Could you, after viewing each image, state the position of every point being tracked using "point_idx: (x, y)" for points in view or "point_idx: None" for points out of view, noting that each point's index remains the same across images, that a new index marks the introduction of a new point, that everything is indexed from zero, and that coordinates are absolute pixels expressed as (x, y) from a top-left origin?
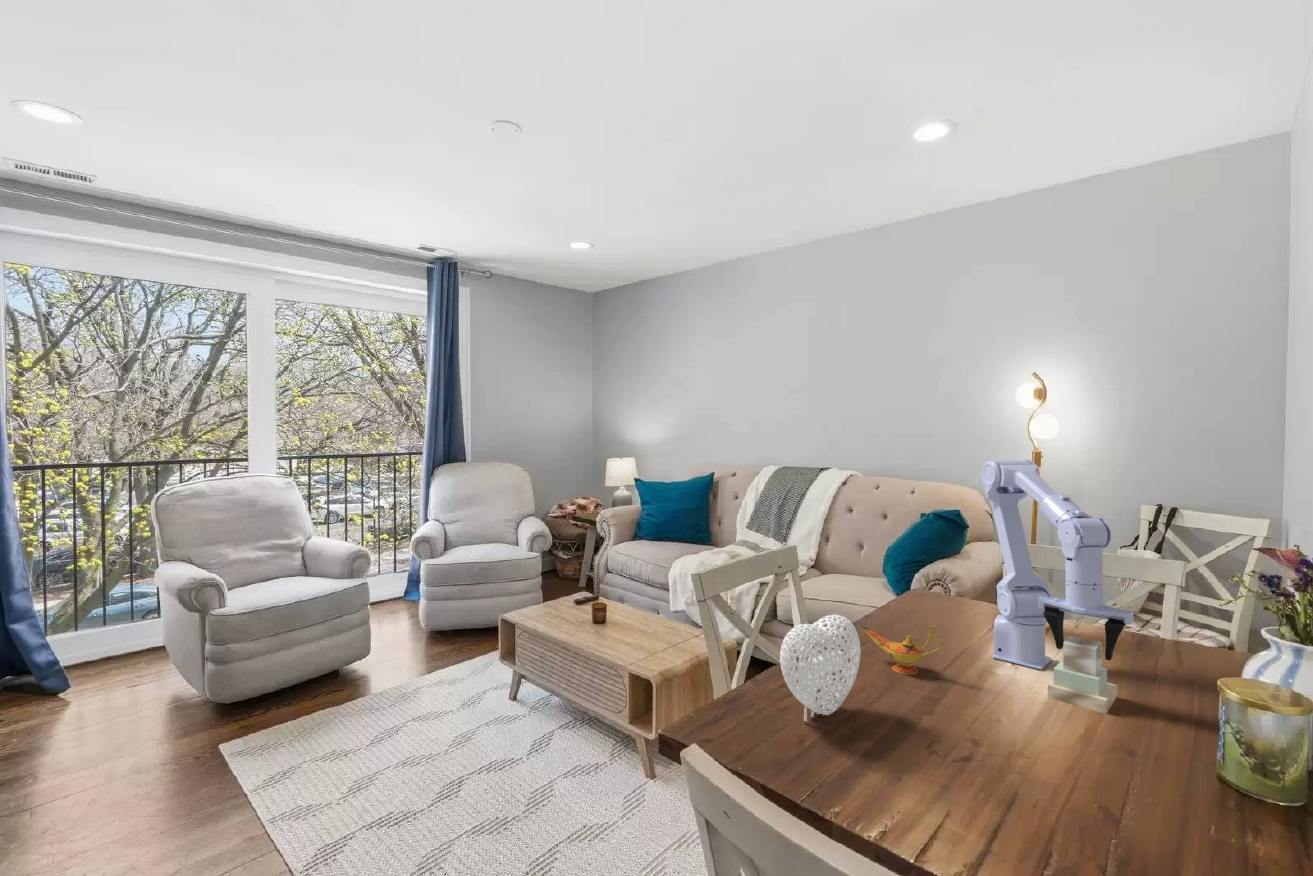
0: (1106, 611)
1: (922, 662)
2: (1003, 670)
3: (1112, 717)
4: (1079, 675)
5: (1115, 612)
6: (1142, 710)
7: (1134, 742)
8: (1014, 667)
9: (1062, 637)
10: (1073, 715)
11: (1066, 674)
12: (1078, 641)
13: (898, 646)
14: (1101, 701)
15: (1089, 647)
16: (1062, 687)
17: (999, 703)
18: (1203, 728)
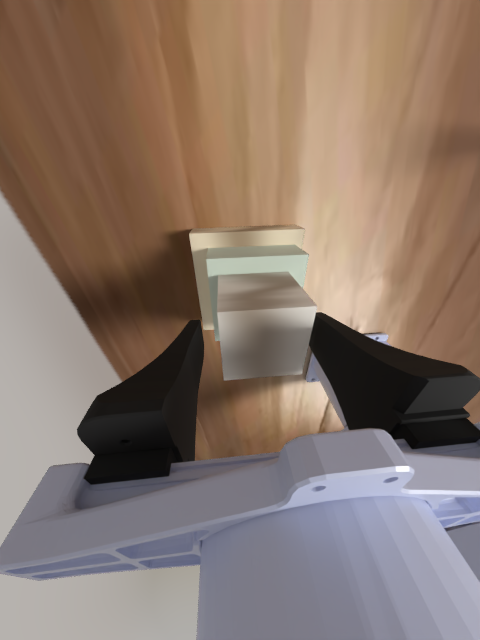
0: (143, 537)
1: None
2: (371, 298)
3: (179, 218)
4: (249, 256)
5: (87, 549)
6: (159, 295)
7: (85, 80)
8: (353, 322)
9: (320, 352)
10: (236, 157)
11: (277, 253)
12: (276, 348)
13: None
14: (199, 232)
15: (238, 318)
16: (276, 240)
17: (397, 72)
18: (71, 292)
